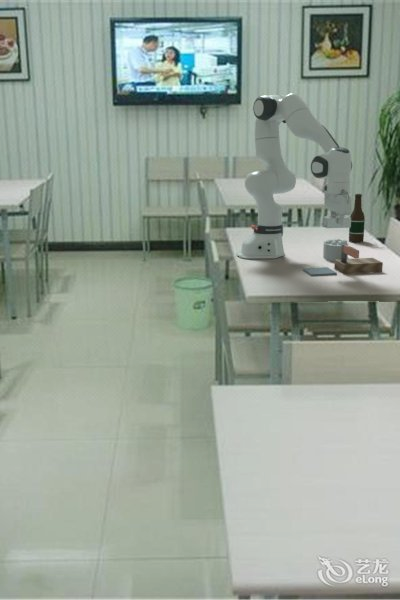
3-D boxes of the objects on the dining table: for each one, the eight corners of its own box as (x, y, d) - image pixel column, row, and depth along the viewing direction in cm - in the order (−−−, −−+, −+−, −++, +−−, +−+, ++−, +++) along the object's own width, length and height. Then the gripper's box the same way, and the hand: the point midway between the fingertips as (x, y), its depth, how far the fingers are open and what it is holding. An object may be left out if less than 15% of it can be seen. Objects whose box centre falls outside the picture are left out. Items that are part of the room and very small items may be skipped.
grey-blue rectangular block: (327, 228, 280) (327, 218, 278) (323, 226, 284) (323, 216, 283) (350, 227, 281) (351, 217, 280) (346, 225, 286) (346, 215, 285)
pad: (311, 276, 280) (311, 274, 280) (302, 270, 290) (302, 268, 290) (336, 274, 282) (336, 272, 282) (327, 268, 292) (327, 267, 292)
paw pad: (344, 255, 318) (344, 237, 316) (350, 261, 306) (351, 242, 303) (321, 256, 318) (322, 237, 316) (326, 262, 306) (327, 242, 303)
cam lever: (339, 260, 288) (340, 243, 286) (345, 260, 288) (346, 243, 286) (353, 268, 274) (354, 250, 272) (359, 268, 274) (360, 250, 272)
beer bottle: (352, 239, 357) (355, 192, 351) (366, 241, 353) (369, 193, 346) (345, 241, 352) (347, 194, 345) (359, 243, 347) (362, 195, 340)
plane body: (343, 274, 283) (343, 264, 282) (334, 268, 292) (334, 259, 291) (382, 272, 286) (382, 262, 285) (372, 266, 295) (372, 257, 294)
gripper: (356, 191, 269) (354, 226, 273) (336, 185, 288) (334, 218, 292) (341, 192, 268) (339, 227, 272) (322, 185, 287) (320, 218, 291)
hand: (336, 222), depth 282 cm, fingers closed on grey-blue rectangular block, 5 cm apart
